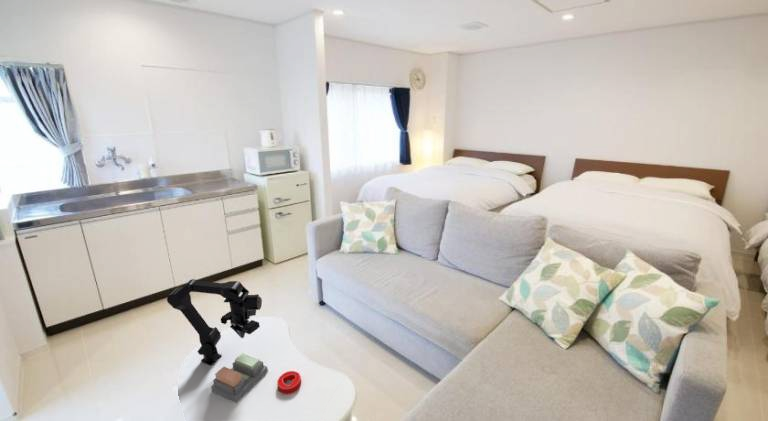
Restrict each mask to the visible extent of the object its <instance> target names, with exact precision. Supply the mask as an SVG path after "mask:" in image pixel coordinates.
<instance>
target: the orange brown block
mask: <svg viewBox="0 0 768 421" xmlns="http://www.w3.org/2000/svg"><path fill="white" fill-rule="evenodd" d="M214 375H215V378H216V380H217V381H219V382H221V383H223V384H226V385H228V386H230V387H232V388H235V387H236V386H237V385H238V384H239V383H240V382H241V381H242V375H241V373H238V372H236V371H233V370H231V368H228V367H226V366H223V367H221V368H220V369H219V370H218V371H217V372H215V373H214Z"/></svg>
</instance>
